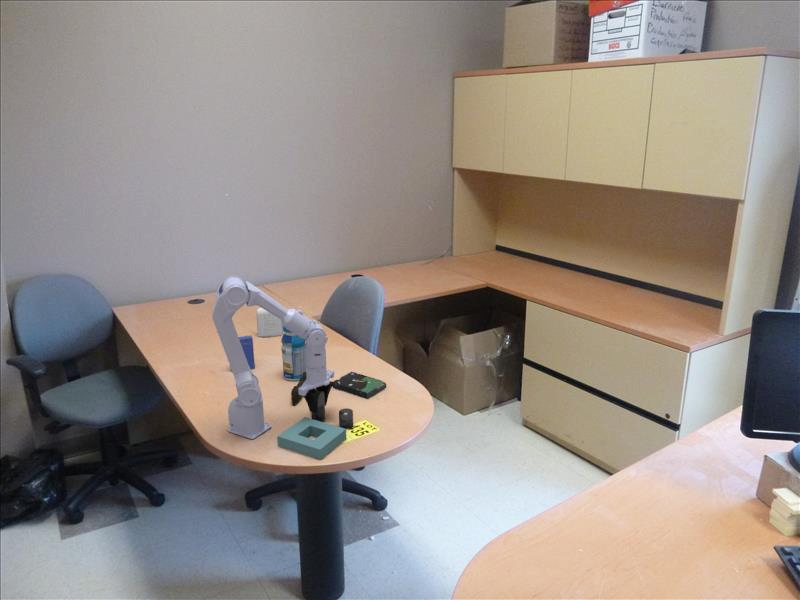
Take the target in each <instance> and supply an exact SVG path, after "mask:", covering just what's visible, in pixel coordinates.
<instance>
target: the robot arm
mask: <svg viewBox="0 0 800 600" xmlns="http://www.w3.org/2000/svg"><path fill="white" fill-rule="evenodd" d="M245 304H246V307H248V308H250V307H254V306H258V307H259V308H263V309H264V310H266V311H268V312H269V313H271V314H273V315H274V316H276V317H278V318H279V319H281V323H282V326H283V327H285V328H286V329H288V330H289V331H291V332H292V333H294V334H295V335H297V336H298V337H300V338H303V339H306V342H305V343H306V351H305V353H306V374H307V379H306V380H305V382H304V383H303V385H302V386H301V387H300V388H298V391H299V395H302V397H303V398H304V400H305V401H306V404H307V407H308V410H309V412H310V413H311V412H313V413H316V412H317V408H318V398H319V395H320V392H317V391H316V390H315V389H314V388H322V389H324V394H325V407H327V404H328V398H329V395H330V392H331V390H332V389H333V381H330V379H333V378H335V371H334V370H332V369H331V370H330V369H327V350H326V344H327V343H328V341H329V340H328V336H327V333H326V330H325V329H324V328H323V326H322V325H321V324H320V323H319V322H318V321H316V320H315V319H310V318H309V317H307V316H306V315H304V312H303V311H302V310H301V309H295V308H286V307H285V306H283V305H282V304H281V303H280V302H278V301H276V300H275V299H273V298H272V297H271V296H270V295H268V294H267V293H266V292H264V291H263V290H261V289H259V288H258V287H257V286H255V285H254V284H253V283H252V282H249V281H245V280H244V279H243V278H242V277H240V276H238V275H237V276H236V275H231V276H228V277H226V278H225V279H224V280H223V281H222V283H221V284H220V285H219V286H218V288H217V292H216V297H215V300H214V303H213V307H212V310H211V311H212V312H211V315H212V317H211V318H212V322H213V324H214V326H215V328H216V331H217V334H218V337H219V339H220V342H221V345H222V348H223V350H224V353H225V356H226V358H227V361H228V364H229V367H230V369H231V373H232V374H233V378H234V380H235V387H236V392H237V397H234V398H233V399H232V400H231V401H230V402H229V404H228V408H227V415H228V425H229V428H228V429H227V432H229V433H232V434H234V435H238V436H241V437H244V438H248V439H250V440H254V439H256V438H257V437H259V436H261V435H262V434H263V433H265V432H266V431H268V430H269V429H272V425H271V424H267V423H265V413H264V399H263V397H262V396H263V394H262V391H261V388H260V385H259V379H258V377H257V376H256V375H255V374H254V373H253V372H252V369H250V367H249V365H248V362H247V359H246V357H245V354H244V351H243V348H242V346H241V343H240V340H239V337H240V336H239V335H238V332H237V329H236V327H235V324H234V321H233V317H234V316H235V314H236V312H238V310H240V309H241V308H242V307H244V306H245Z"/></svg>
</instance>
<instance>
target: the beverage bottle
mask: <svg viewBox="0 0 800 600" xmlns="http://www.w3.org/2000/svg"><path fill="white" fill-rule="evenodd" d="M280 341H281V342H280V343H282V345H281V346H280V347H281V356H282V370H283V373H282V374H283V378H284V379H285V380H287V381H292V382H293V381H296V382H297V381H299V379H300V378H302V377H303V373H304V372H306V353H305V351H306V339H303V338H300V337H298V336H297V335H295V334H294V333H292V332H291V331H289V330H288V329H286V328H285V327H283V335H282V336H281V340H280Z"/></svg>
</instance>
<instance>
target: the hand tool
mask: <svg viewBox="0 0 800 600" xmlns="http://www.w3.org/2000/svg"><path fill="white" fill-rule="evenodd" d="M306 379H307V374H306V372H304V373H303V377H302V378H300V379H299V380H298V382H297V384H296V385H294V386H293V388H292V389H291V392H290V395H291V396H290V397H291V405H292V406H293V407H294V406H296V405H297V404H299V402H300V401H301V400H302V397H303V396H302V395H299V391H298V388H300V387H301V386H302V385H303V383H304V382H305V380H306Z"/></svg>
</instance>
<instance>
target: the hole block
mask: <svg viewBox="0 0 800 600" xmlns="http://www.w3.org/2000/svg"><path fill="white" fill-rule="evenodd" d="M310 436H312V437H316V438H315V439H312V438H309V437H310ZM276 439H277V446H278V447H280V448H283V449H286V450H289V451H292V452H296V453H298V454H302V455H304V456H307V457H310V458H314V459H317V460H320V461H321V460H322V459H324V457H326V456H327V455H328V454H330V453H331V452H332V451H333V450H334V449H336V448H337V447H338V446H340V444H342V443H343V442H344V441H345V440H347V429H344V428H341V427H339V426H338V425H333V424H331V423H330V424H329V423H326V422H325V421H323V422H320V421H317V420H313V419H312V418H311V417H310V418H309V417H306V416H304V417H302V419H300V420H299V421H297V422H296V423H294V424H293V425H292V426H290V427H288V428H287V429H286V430H283V432H282V433H280V434H278V435H277V438H276Z"/></svg>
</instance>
